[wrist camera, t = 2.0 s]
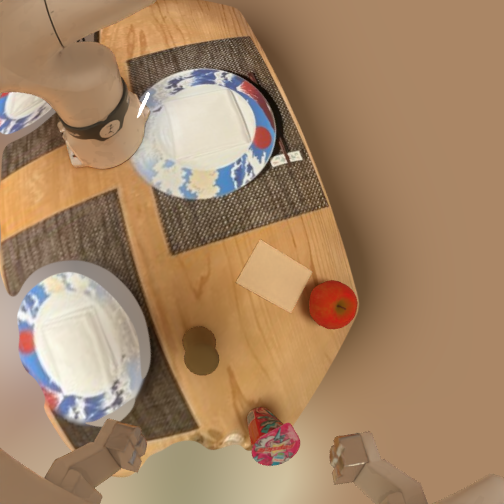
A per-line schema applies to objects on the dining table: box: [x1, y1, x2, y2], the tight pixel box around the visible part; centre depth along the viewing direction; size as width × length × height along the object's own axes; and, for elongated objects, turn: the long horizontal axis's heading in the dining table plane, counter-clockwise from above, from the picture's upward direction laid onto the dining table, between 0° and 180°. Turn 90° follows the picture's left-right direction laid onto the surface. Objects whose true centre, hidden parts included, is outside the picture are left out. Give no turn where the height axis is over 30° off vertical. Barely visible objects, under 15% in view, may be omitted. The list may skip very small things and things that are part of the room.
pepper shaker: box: [183, 327, 219, 375], centre depth 42 cm, size 6×6×11 cm
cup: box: [247, 407, 300, 466], centre depth 43 cm, size 9×8×12 cm
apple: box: [309, 280, 357, 329], centre depth 47 cm, size 9×8×11 cm
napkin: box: [236, 240, 312, 313], centre depth 51 cm, size 12×9×1 cm
